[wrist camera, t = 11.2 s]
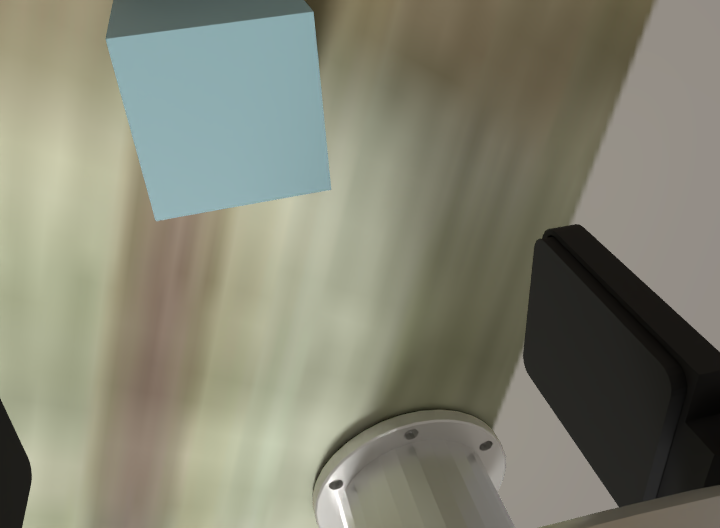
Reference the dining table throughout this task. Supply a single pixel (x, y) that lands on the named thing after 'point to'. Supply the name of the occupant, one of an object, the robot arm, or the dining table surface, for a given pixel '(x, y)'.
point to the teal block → (221, 100)
